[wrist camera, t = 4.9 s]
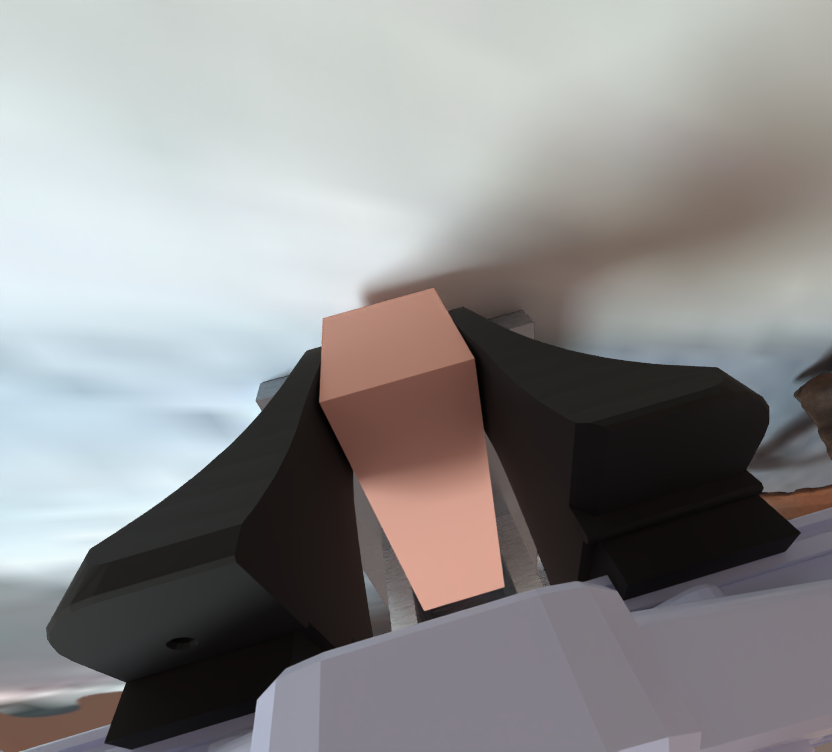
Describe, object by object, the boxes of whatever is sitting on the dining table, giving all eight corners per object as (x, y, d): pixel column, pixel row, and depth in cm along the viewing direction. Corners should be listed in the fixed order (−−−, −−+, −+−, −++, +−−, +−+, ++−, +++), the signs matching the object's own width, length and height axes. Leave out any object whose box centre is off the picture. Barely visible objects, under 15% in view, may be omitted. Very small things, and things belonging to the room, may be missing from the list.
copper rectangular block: (474, 504, 18) (504, 586, 15) (408, 524, 18) (424, 611, 15) (433, 287, 11) (474, 358, 8) (322, 318, 11) (319, 402, 8)
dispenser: (530, 555, 25) (590, 688, 19) (389, 597, 25) (406, 744, 19) (522, 309, 14) (663, 454, 8) (260, 383, 13) (203, 589, 7)
